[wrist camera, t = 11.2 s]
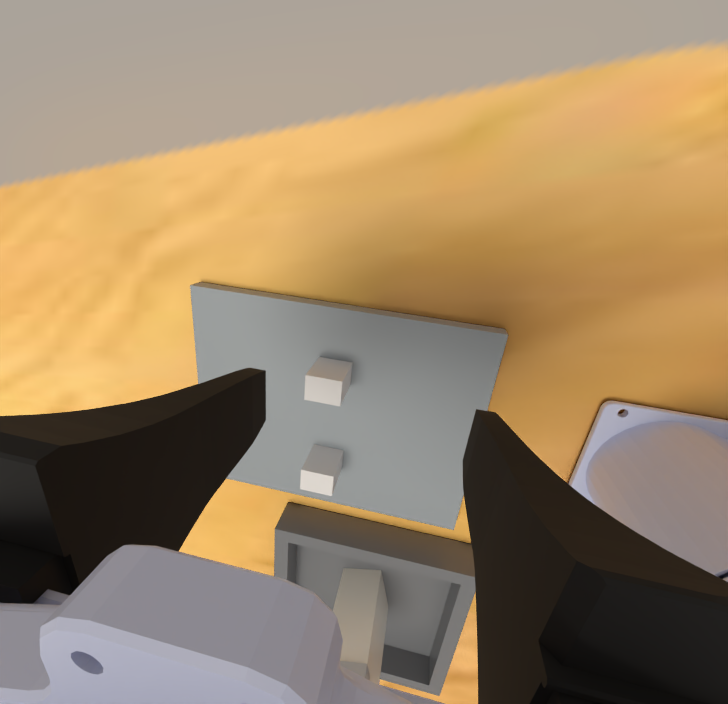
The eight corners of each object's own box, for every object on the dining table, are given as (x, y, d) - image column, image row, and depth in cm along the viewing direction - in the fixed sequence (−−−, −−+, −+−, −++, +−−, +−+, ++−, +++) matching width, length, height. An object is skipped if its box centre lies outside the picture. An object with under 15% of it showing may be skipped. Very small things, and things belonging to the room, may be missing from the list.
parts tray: (475, 545, 26) (479, 578, 23) (439, 660, 31) (439, 695, 29) (288, 502, 27) (274, 528, 25) (284, 617, 33) (273, 648, 30)
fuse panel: (505, 329, 20) (518, 352, 16) (453, 518, 25) (455, 563, 22) (200, 282, 22) (160, 294, 19) (213, 464, 27) (184, 499, 24)
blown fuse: (381, 569, 28) (364, 679, 21) (388, 606, 29) (375, 719, 22) (343, 567, 28) (316, 673, 22) (352, 603, 30) (329, 712, 23)
